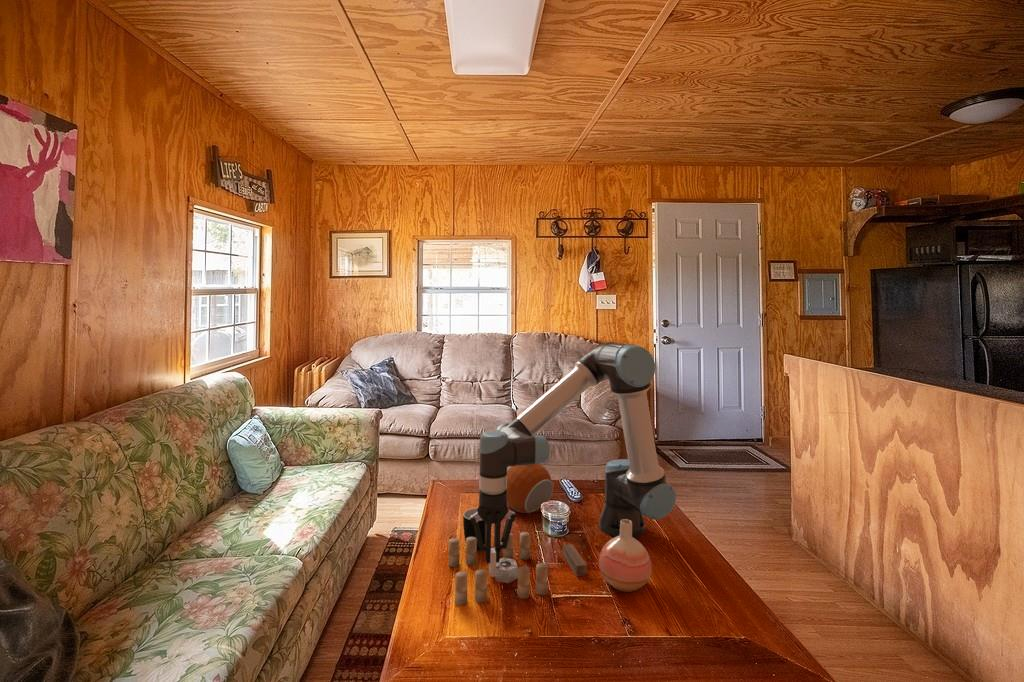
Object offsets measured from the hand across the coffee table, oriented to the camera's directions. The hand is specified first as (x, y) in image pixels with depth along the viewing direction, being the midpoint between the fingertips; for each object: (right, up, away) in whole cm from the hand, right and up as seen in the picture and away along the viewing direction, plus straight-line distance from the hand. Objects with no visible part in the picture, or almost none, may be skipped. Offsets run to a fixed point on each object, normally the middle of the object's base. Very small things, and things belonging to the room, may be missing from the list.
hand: (492, 573), depth 131 cm
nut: (+4, -1, +1) cm, 4 cm away
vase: (+36, -2, -3) cm, 36 cm away
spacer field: (+1, -1, 0) cm, 1 cm away
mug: (-6, 0, +19) cm, 20 cm away
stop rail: (+23, -1, +7) cm, 25 cm away
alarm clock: (+11, +2, +49) cm, 50 cm away
